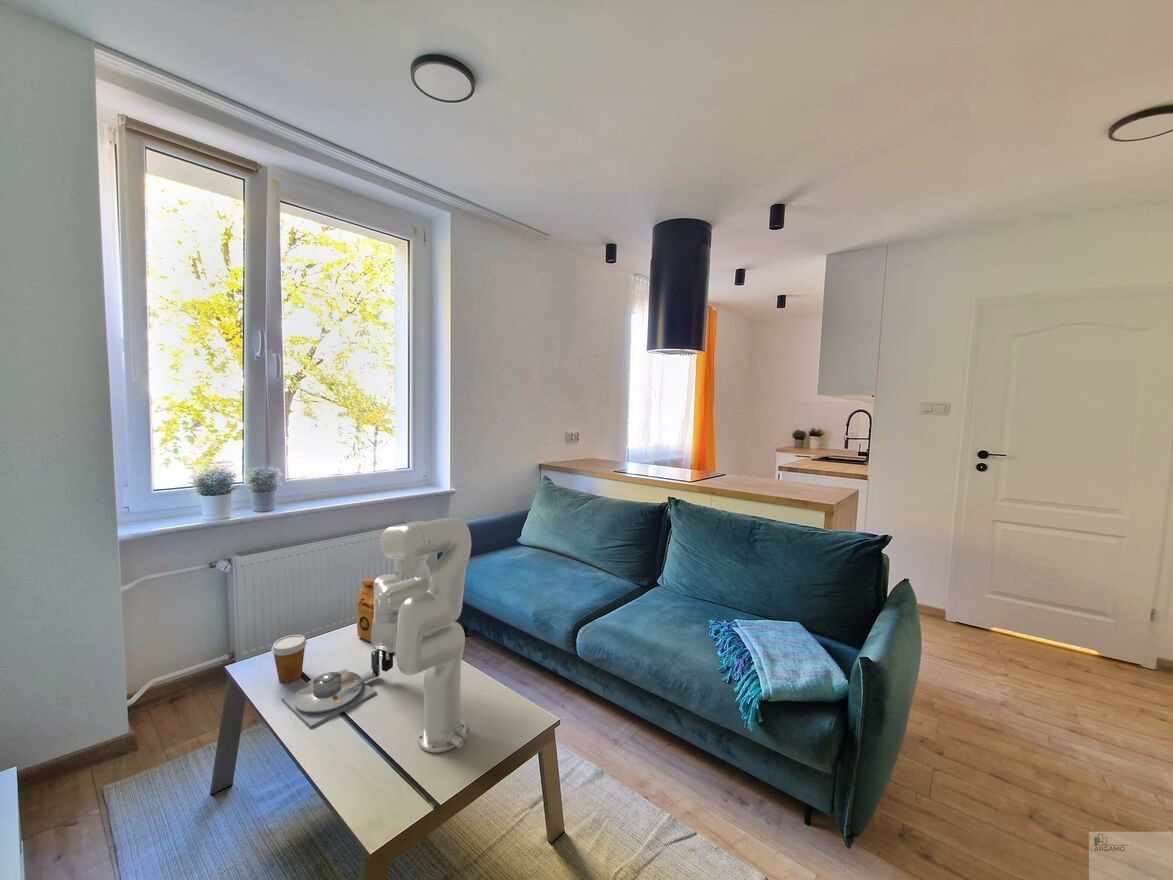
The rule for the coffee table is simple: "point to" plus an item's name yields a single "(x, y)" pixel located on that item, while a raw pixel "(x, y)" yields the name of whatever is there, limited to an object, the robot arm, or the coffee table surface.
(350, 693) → the turntable
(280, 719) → the coffee table surface
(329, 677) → the cover
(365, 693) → the plinth
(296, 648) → the disposable coffee cup
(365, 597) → the coffee package
